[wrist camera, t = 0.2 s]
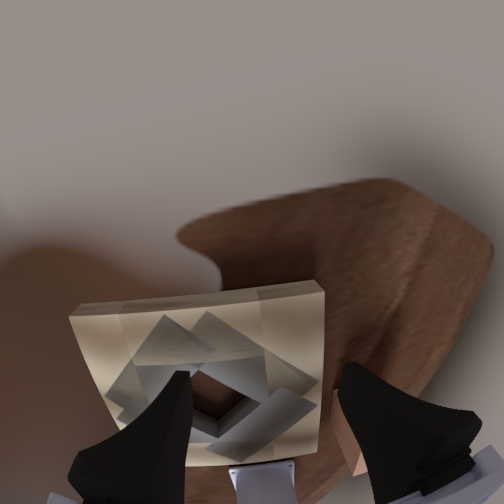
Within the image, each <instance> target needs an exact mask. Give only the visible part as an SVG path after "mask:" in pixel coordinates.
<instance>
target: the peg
mask: <svg viewBox="0 0 504 504" xmlns="http://www.w3.org/2000/svg"><path fill="white" fill-rule="evenodd" d="M337 392H338V389H335V390H333V396H332V406H331V415H330V423H331V425H332V428H333V430H334V433H335V435H336V437H337V440H338V442H339V445H340V447H341V449H342V452H343V454H344V457H345V459H346V462H347V464H348V466H349V469H350V471H351V473H352V476H355V475H359V474H362V473H365V472H368V470H367V467H366V463H365V460H364V457H363V454H362V452H361V449H360V447H359V444H358V442H357V440H356V438H355V436H354V434H353V432H352V430H351V428H350V426H349V424H348V422H347V420H346V418H345V416H344V414H343V412H342V409H341V406H340V403H339V400H338V397H337Z"/></svg>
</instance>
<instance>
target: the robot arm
mask: <svg viewBox="0 0 504 504" xmlns="http://www.w3.org/2000/svg"><path fill="white" fill-rule="evenodd" d="M337 397H338V400H339V403H340V406H341V409H342V412H343V414H344V416H345V418H346V420H347V422H348V424H349V426H350V428H351V430H352V432H353V434H354V436H355V438H356V440H357V442H358V444H359V447H360V449H361V452H362V454H363V457H364V460H365V463H366V467H367V470H368V474H369V477H370V481H371V486H372V489H373V494H374V500H375V504H482V503H483V502H485V501H486V500H487V499H488V498H489V497H490V496H491V495H492V494H493V493H494V492H496V491H497V490H498V489H499V488H500V487H501V486H502V485H503V484H504V460H503V459H502V458H501V456H500V455H499V454H498V453H497V452H496V450H495V449H494V448H493V447H492V446H491V445H489V446H488V447H486V448H484V449H483V450H481V451H480V452H478V453H477V454H476V455H475V456H473V457H471V456H470V455H469V454H470V453H471V449H470V448H469V445H470V444H471V443H472V441H473V440H474V438H475V437H476V436H477V434H478V432H479V431H480V429H481V426H482V421H481V419H480V418H479V417H478V416H477V415H476V414H475V413H474V412H473V411H467V410H457V409H451V408H446V407H442V406H438V405H435V404H431V403H428V402H425V401H423V400H420V399H418V398H415V397H413V396H411V395H409V394H407V393H404V392H403V391H401V390H399V389H397V388H395V387H394V386H392V385H390V384H389V383H387V382H385V381H384V380H382V379H381V378H379V377H378V376H376V375H375V374H373V373H372V372H370V371H369V370H367V369H366V368H365V367H363V366H362V365H360V364H358V363H357V362H352V363H344V368H343V372H342V376H341V380H340V384H339V388H338V392H337ZM193 407H194V401H193V393H192V386H191V377H190V371H180V370H176V371H175V372H174V373H173V375H172V377H171V378H170V380H169V381H168V382H167V384H166V385H165V387H164V388H163V389H162V391H161V392H160V393H159V394H158V396H157V397H156V398H155V399H154V400H153V402H152V403H151V404H150V405H149V406H148V407H147V408H146V409H145V410H144V411H143V412H142V413H141V414H140V415H139V416H138V417H137V418H136V419H135V420H133V421H132V422H131V423H130V424H129V425H127V426H126V427H125V428H123V429H122V430H121V431H119V432H118V433H116V434H115V435H113V436H111V437H109V438H108V439H106V440H104V441H103V442H100V443H98V444H97V445H94V446H92V447H90V448H87V449H85V450H82V451H79V452H78V454H77V456H76V457H75V459H74V461H73V464H72V466H71V468H70V471H69V473H68V476H67V477H68V481H69V482H70V484H71V485H72V487H73V488H74V489H75V490H76V491H77V492H78V493H79V494H80V496H81V497H82V498H83V499H84V501H83V503H82V504H184V486H185V464H186V456H187V450H188V445H189V439H190V434H191V428H192V422H193ZM229 473H230V476H231V479H232V482H233V485H234V487H235V490H236V493H237V504H298V502H297V498H296V494H295V490H294V461H293V460H287V461H281V462H274V463H267V464H259V465H250V466H240V467H230V468H229ZM46 504H79V503H78V502H76V501H73V500H71V499H68V498H66V497H63V496H60V495H58V494H55V493H53V492H52V493H50V495H49V498H48V501H47V503H46Z"/></svg>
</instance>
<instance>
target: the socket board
mask: <svg viewBox="0 0 504 504" xmlns="http://www.w3.org/2000/svg"><path fill="white" fill-rule="evenodd" d="M324 317H325V292H324V290H323V289H322V288H321V287H320V286H319V284H318V283H317V282H316V281H315V280H307V281H300V282H292V283H285V284H277V285H270V286H262V287H254V288H246V289H237V290H229V291H220V292H211V293H201V294H192V295H182V296H173V297H161V298H150V299H138V300H126V301H113V302H99V303H85V304H81V305H80V306H79V307H78V308H77V309H76V310H75V311H74V312H73V313H72V314H71V315H70V316H69V319H70V322H71V325H72V328H73V330H74V333H75V336H76V338H77V341H78V344H79V346H80V349H81V351H82V354H83V356H84V359H85V361H86V363H87V366H88V368H89V370H90V372H91V375H92V377H93V379H94V381H95V383H96V385H97V387H98V389H99V391H100V394H101V395H102V397H103V399H104V401H105V403H106V405H107V407H108V409H109V411H110V413H111V415H112V416H113V418H114V420H115V422H116V423H117V425H118V427H119V429H120V430H122V429H123V428H125V427H126V426H127V425H129V424H130V423H131V422H132V421H133V420H135V419H136V418H137V417H138V416H139V415H140V414H141V413H142V412H143V411H144V410H145V409H146V408H147V407H148V406H149V405H150V404H151V403H152V402H153V400H154V399H155V398H156V397H157V396H158V394H159V393H160V392H161V391H162V389H163V388H164V387H165V385H166V384H167V382H168V381H169V380H170V378H171V377H172V375H173V373H174V372H175V371H176V370H180V371H190V377H192V376H193V375H194V374H195V372H196V371H197V370H200V371H202V372H204V373H205V374H207V375H209V376H210V377H212V378H214V379H216V380H218V381H219V382H221V383H223V384H225V385H227V386H228V387H230V388H232V389H234V390H236V391H238V392H240V393H242V394H244V395H246V397H245V398H244V399H242V400H241V401H240V402H239V403H238V404H237V405H236V406H234V407H233V408H232V409H231V410H230V411H229V412H227V413H226V414H225V415H224V416H223V417H222V418H220V419H219V420H216V419H214V418H212V417H210V416H208V415H206V414H204V413H202V412H200V411H198V410H196V409H194V408H193V422H192V428H191V434H190V439H189V445H188V450H187V456H186V464H185V466H216V465H233V464H245V463H254V462H263V461H270V460H277V459H283V458H289V457H295V456H300V455H305V454H310V453H314V452H317V445H318V435H319V424H320V412H321V398H322V381H323V360H324Z"/></svg>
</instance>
